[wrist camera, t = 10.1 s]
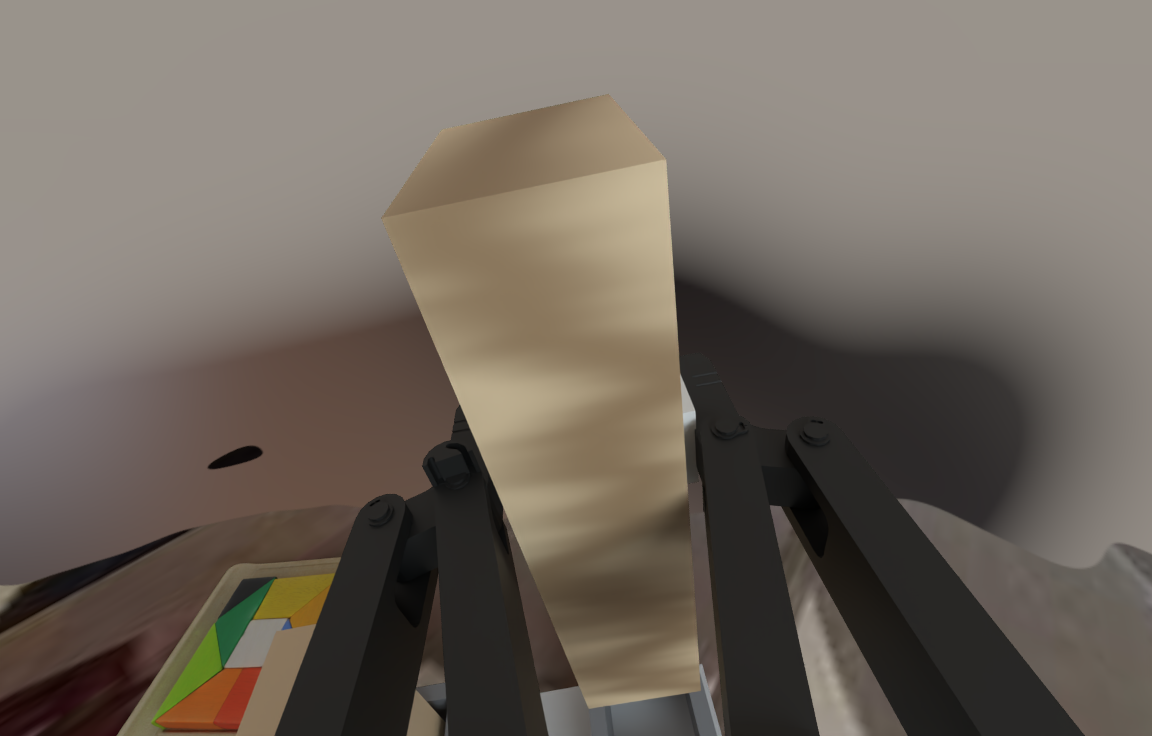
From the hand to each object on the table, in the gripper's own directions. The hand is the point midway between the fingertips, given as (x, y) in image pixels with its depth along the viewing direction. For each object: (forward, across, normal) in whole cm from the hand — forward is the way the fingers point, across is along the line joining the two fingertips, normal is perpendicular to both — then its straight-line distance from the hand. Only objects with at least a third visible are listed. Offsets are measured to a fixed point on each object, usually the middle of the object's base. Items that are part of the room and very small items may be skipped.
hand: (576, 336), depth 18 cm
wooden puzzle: (+8, -33, -33) cm, 47 cm away
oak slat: (-5, 0, -10) cm, 11 cm away
